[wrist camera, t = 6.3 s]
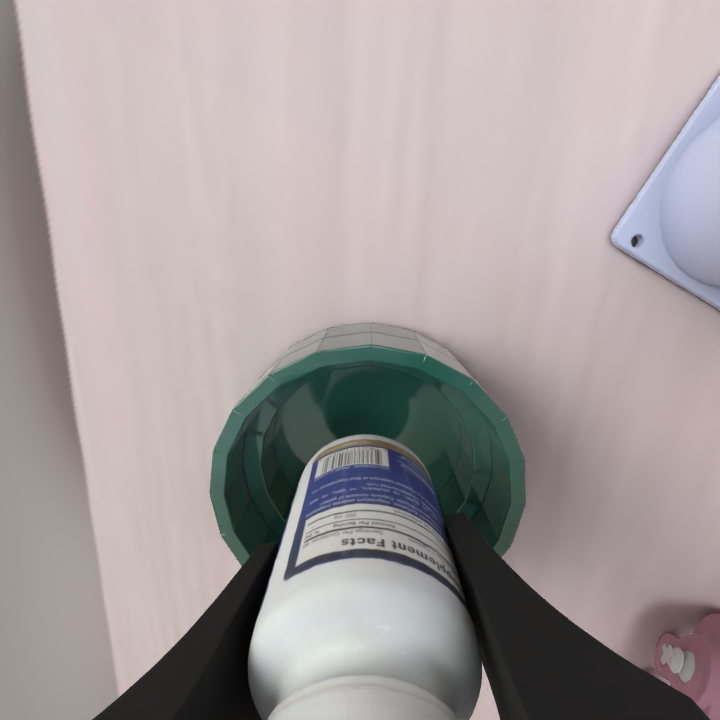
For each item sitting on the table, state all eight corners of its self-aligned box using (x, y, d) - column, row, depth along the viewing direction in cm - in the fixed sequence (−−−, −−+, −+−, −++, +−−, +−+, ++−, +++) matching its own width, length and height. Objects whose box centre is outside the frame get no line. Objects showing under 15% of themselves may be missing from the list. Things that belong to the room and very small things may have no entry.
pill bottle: (384, 566, 16) (406, 988, 7) (275, 506, 16) (136, 885, 6) (459, 473, 15) (612, 835, 6) (345, 404, 14) (302, 685, 5)
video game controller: (666, 574, 23) (707, 669, 17) (759, 621, 22) (843, 746, 15) (594, 687, 26) (608, 805, 20) (672, 737, 24) (714, 884, 18)
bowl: (534, 395, 19) (592, 443, 14) (409, 570, 22) (421, 660, 17) (313, 274, 17) (293, 282, 13) (212, 479, 20) (165, 549, 16)
